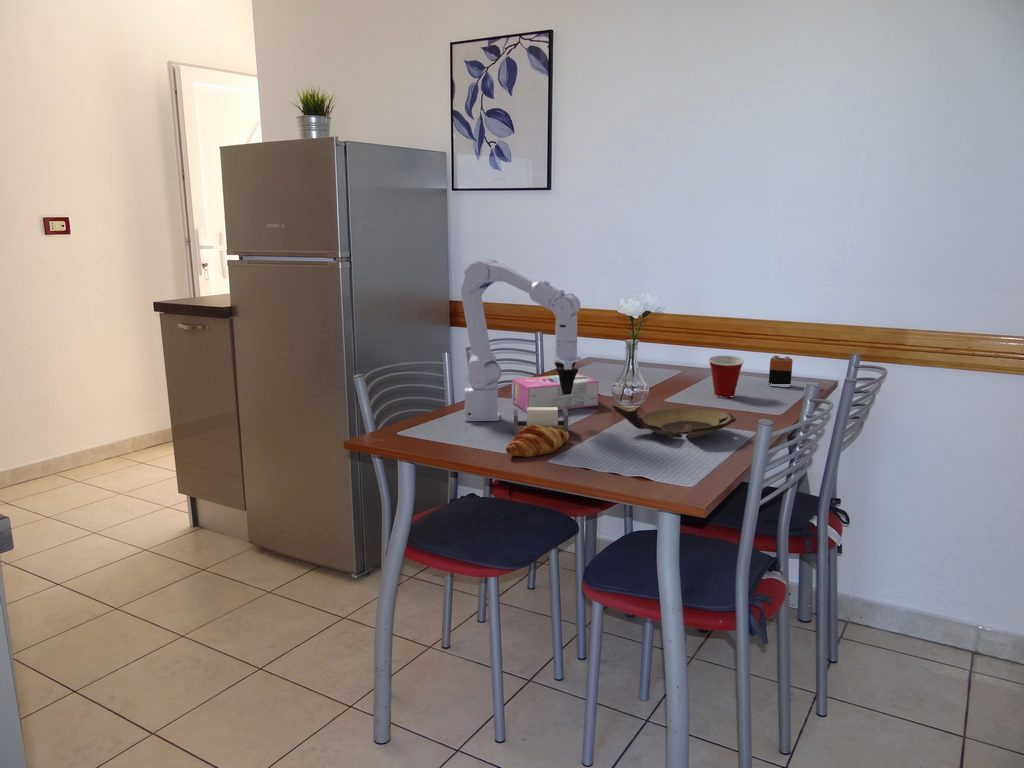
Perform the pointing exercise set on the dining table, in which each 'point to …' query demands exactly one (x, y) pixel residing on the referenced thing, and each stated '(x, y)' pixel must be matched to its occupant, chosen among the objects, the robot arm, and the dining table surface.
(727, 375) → the plastic cup
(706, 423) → the oil lamp
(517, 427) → the grey metal bracket
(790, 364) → the battery
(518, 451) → the croissant
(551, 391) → the gum box
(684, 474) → the dining table surface
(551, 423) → the cream rectangular block
